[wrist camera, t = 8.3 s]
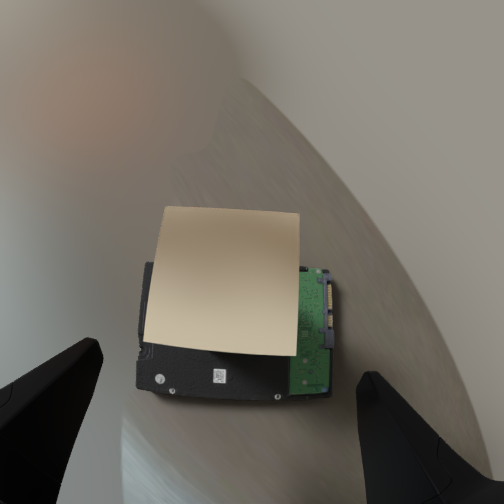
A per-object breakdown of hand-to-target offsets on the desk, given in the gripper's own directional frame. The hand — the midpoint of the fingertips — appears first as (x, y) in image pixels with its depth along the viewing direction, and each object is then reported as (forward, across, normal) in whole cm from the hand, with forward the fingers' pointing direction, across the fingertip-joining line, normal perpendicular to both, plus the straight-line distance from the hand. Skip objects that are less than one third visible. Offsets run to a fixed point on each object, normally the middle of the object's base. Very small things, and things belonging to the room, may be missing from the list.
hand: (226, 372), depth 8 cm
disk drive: (+11, 0, +9) cm, 14 cm away
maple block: (+10, 0, +6) cm, 12 cm away
